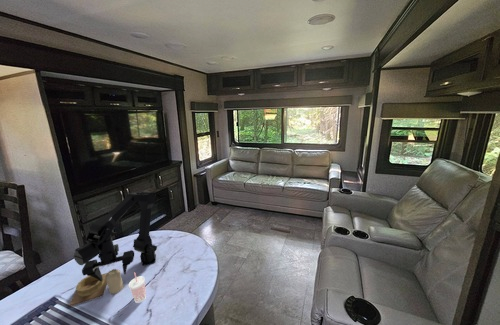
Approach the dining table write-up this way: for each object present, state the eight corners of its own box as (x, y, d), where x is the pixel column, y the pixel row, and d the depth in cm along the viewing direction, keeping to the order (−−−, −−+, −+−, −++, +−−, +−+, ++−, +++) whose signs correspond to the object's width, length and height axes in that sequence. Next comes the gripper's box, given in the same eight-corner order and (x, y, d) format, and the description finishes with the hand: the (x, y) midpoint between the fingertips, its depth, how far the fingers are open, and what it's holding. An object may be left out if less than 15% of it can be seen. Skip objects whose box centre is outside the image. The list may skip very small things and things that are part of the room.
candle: (116, 295, 90) (111, 277, 88) (106, 293, 92) (101, 275, 89) (126, 284, 96) (122, 267, 93) (116, 283, 97) (112, 266, 94)
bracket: (110, 273, 103) (108, 267, 101) (102, 296, 90) (100, 289, 89) (81, 281, 98) (79, 275, 97) (69, 306, 86) (67, 299, 85)
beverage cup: (141, 305, 85) (135, 279, 81) (129, 303, 86) (122, 277, 82) (151, 293, 91) (145, 267, 87) (139, 291, 92) (133, 266, 88)
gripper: (132, 232, 98) (138, 259, 102) (86, 243, 92) (95, 271, 96) (129, 246, 88) (135, 275, 92) (77, 259, 82) (86, 289, 86)
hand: (113, 277), depth 92 cm, fingers open, 9 cm apart
